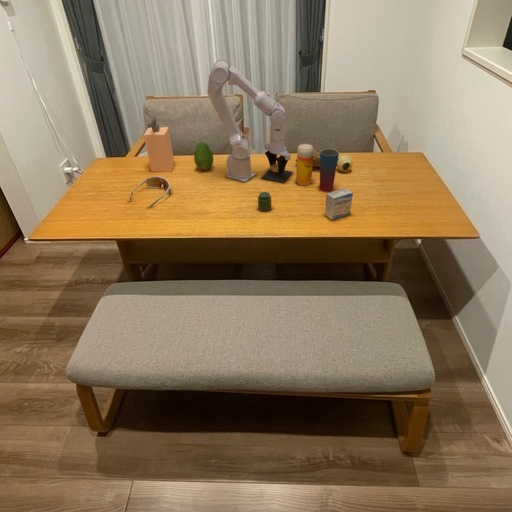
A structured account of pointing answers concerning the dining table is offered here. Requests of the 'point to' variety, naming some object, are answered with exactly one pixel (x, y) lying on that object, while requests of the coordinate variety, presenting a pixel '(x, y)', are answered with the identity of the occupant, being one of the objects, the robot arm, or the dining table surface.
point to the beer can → (304, 164)
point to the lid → (274, 167)
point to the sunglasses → (155, 185)
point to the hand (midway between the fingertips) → (277, 170)
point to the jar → (264, 201)
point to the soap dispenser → (159, 147)
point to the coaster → (277, 176)
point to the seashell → (315, 158)
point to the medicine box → (338, 203)
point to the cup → (328, 168)
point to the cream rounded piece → (344, 163)
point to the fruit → (203, 156)
